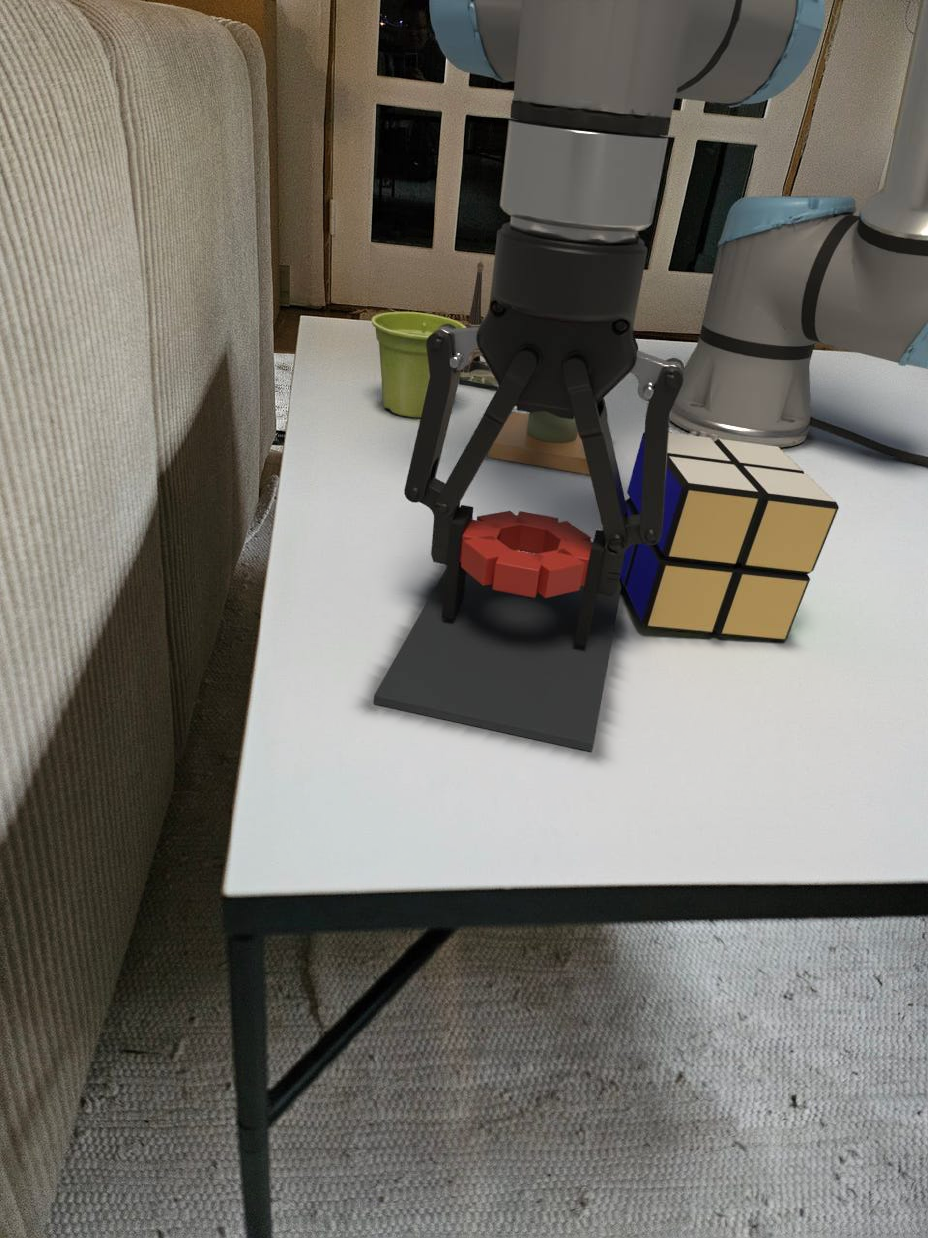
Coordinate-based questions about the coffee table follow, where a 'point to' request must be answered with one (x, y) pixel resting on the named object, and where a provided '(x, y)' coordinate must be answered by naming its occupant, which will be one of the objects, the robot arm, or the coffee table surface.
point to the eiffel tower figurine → (477, 368)
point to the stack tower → (541, 442)
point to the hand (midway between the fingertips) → (516, 621)
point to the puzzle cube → (727, 540)
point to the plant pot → (406, 358)
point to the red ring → (524, 573)
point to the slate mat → (506, 664)
